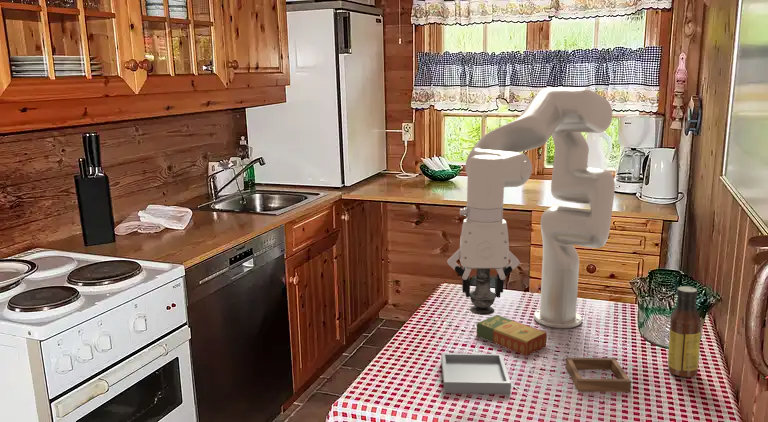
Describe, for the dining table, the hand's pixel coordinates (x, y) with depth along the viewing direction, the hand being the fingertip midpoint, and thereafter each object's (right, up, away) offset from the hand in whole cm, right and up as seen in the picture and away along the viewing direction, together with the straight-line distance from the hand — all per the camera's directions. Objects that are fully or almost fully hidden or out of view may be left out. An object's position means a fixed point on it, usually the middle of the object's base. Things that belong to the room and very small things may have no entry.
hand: (482, 294), depth 135 cm
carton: (+11, -15, +23) cm, 30 cm away
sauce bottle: (+46, -19, +6) cm, 50 cm away
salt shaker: (0, -4, +1) cm, 4 cm away
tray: (-1, -19, +4) cm, 20 cm away
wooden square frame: (+26, -19, +3) cm, 32 cm away
